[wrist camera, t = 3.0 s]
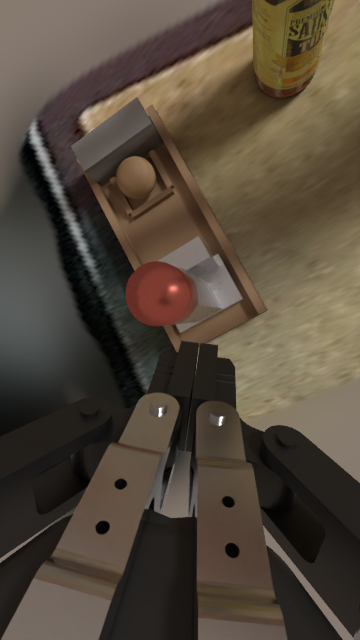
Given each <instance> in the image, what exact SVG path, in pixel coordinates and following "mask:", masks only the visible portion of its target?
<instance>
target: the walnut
mask: <svg viewBox="0 0 360 640" xmlns="http://www.w3.org/2000/svg"><path fill="white" fill-rule="evenodd" d="M116 180H117V184H118V187H119V189H120V190H121V191H122V192H123V194H125V195H126V196H128V197H130V198H133V199H141V198H144V197H146V196H148V195H149V194H150V193H151V192H152V190H153V189H154V186H155V183H156V174H155V171H154V168H153V167H152V165H151V164H150V163H149V162H148V161H147V160H146V159H144V158H142V157H138V156H133V157H129V158H126V159H125V160H124V161H122V162H121V164H120V165H119V167H118V169H117V173H116Z"/></svg>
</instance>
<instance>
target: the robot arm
mask: <svg viewBox="0 0 360 640" xmlns="http://www.w3.org/2000/svg"><path fill="white" fill-rule="evenodd" d="M198 346H199V343H196V342H188V341H181V344H180V348H179V352H172V351H166V352H165V353H164V354H163V355H161V356H160V357H159V360H158V363H157V366H156V369H155V373H154V375H153V378H152V381H151V384H150V387H149V390H148V393H147V395H145V396H143V397H142V398H141V399H140V400H139V401H138V403H137V405H136V406H135V407H132V408H129V409H122V410H112V407H111V406H110V404H109V403H108V402H107V401H105V400H103V399H100V398H85V399H81V400H79V401H77V402H74V403H72V404H70V405H68V406H66V407H64V408H62V409H59V410H57V411H55V412H53V413H51V414H49V415H47V416H44V417H42V418H40V419H38V420H36V421H34V422H32V423H29V424H27V425H25V426H23V427H21V428H18V429H16V430H14V431H12V432H10V433H8V434H6V435H3V436H1V437H0V558H1V557H3V556H4V555H5V554H7V553H8V552H10V551H11V550H13V549H14V548H16V547H17V546H18V545H20V544H21V543H23V542H25V541H26V540H28V539H29V538H30V537H32V536H33V535H35V534H36V533H38V532H39V531H41V530H42V529H44V528H45V527H47V526H48V525H49V524H51V523H52V522H54V521H55V520H57V519H58V518H60V517H61V516H63V515H64V514H66V513H67V512H68V511H70V510H71V509H73V508H74V507H76V506H77V505H78V506H77V508H76V510H75V512H74V514H72V515H70V516H67V517H65V518H63V519H61V520H60V521H58V522H56V523H55V524H53V525H52V526H50V527H49V528H48V529H46V530H45V531H43V532H42V533H41V534H39V535H38V536H36V537H35V538H34V539H32V540H31V541H30V542H28V543H27V544H26V545H24V546H23V547H22V548H20V549H19V550H17V551H16V552H15V553H13V554H12V555H10V556H9V557H8V558H6V559H5V560H4V561H2V562H1V563H0V640H342V638H341V637H340V636H339V634H338V633H337V631H336V630H335V629H334V627H333V626H332V625H331V623H330V622H329V621H328V619H327V618H326V617H325V615H324V614H323V612H322V611H321V610H320V609H319V607H318V606H317V604H316V603H315V602H314V600H313V599H312V598H311V596H310V595H309V594H308V592H307V591H306V590H305V588H304V587H303V585H302V584H301V583H300V581H299V580H298V579H297V577H296V576H295V575H294V573H293V572H292V571H291V570H290V568H289V567H288V566H287V564H286V563H285V562H284V561H283V560H282V559H281V558H280V557H279V555H277V554H276V553H275V552H274V551H273V550H272V549H271V548H269V547H268V546H267V545H266V542H265V535H264V530H263V525H264V526H265V528H266V529H267V530H268V532H269V533H270V534H271V535H272V537H273V538H274V539H275V540H276V542H277V543H278V544H279V545H280V546H281V548H282V549H283V550H284V552H285V553H286V554H287V555H288V557H289V558H290V559H291V560H292V562H293V563H294V564H295V565H296V567H297V568H298V569H299V570H300V572H301V573H302V574H303V575H304V577H305V578H306V579H307V580H308V582H309V583H310V584H311V585H312V587H313V588H314V589H315V590H316V592H317V593H318V594H319V595H320V597H321V598H322V599H323V600H324V602H325V603H326V604H327V605H328V607H329V608H330V609H331V610H332V611H333V613H334V614H335V615H336V616H337V618H338V619H339V620H340V622H341V623H342V624H343V625H344V627H345V628H346V629H347V630H348V632H349V633H350V634H351V635H352V637H353V638H354V640H360V483H359V482H358V481H357V480H355V479H354V478H353V477H352V476H351V475H350V474H348V473H347V472H346V471H345V470H344V469H343V468H341V467H340V466H339V465H338V464H337V463H335V462H334V461H333V460H332V459H331V458H330V457H328V456H327V455H326V454H325V453H324V452H323V451H321V450H320V449H319V448H318V447H317V446H316V445H314V444H313V443H312V442H311V441H310V440H309V439H307V438H306V437H305V436H304V435H303V434H301V433H300V432H299V431H297V430H295V429H293V428H290V427H287V426H281V425H277V426H272V427H269V428H268V429H267V430H265V432H263V431H260V430H258V429H255V428H253V427H251V426H249V425H247V424H246V423H245V422H243V421H242V420H241V418H240V417H239V414H238V412H237V411H236V384H235V366H234V365H233V363H232V362H231V360H230V359H226V358H218V357H217V353H218V345H212V344H204V343H200V349H199V355H198ZM197 355H198V362H197ZM196 364H197V369H196ZM195 373H196V375H195ZM194 381H195V382H194ZM191 402H192V404H191ZM190 409H191V412H190ZM189 415H190V421H189ZM188 422H189V430H188V439H187V448H186V451H189V452H191V461H190V469H189V488H188V517H185V518H169V517H167V516H164V515H162V511H163V507H164V503H165V500H166V496H167V492H168V489H169V485H170V481H171V478H172V474H173V470H174V464H175V462H176V459H177V454H178V450H182V451H184V449H185V442H186V435H187V429H188ZM70 455H71V458H69V459H67V460H65V461H64V462H62V463H60V464H58V465H57V466H55V467H53V468H52V469H50V470H48V471H46V472H45V473H43V474H41V475H39V474H40V473H41V472H42V471H44V470H46V469H48V468H49V467H51V466H53V465H55V464H56V463H58V462H60V461H62V460H63V459H65V458H67V457H69V456H70ZM38 475H39V476H38ZM37 476H38V477H37Z"/></svg>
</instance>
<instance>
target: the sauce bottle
mask: <svg viewBox="0 0 360 640" xmlns="http://www.w3.org/2000/svg"><path fill="white" fill-rule="evenodd" d="M333 3H334V0H252V7H253V65H254V69H255V77H256V81H257V83H258V85H259V87H260V88H261V90H263V92H265V93H266V94H267V95H270V96H272V97H275V98H285V97H289V96H292V95H294V94H296V93H298V92H300V91H301V90H302V89H304V88H305V87H306V85H308V84H309V83H310V81H311V79H312V78H313V75H314V73H315V71H316V69H317V67H318V65H319V62H320V59H321V55H322V51H323V47H324V42H325V38H326V34H327V29H328V25H329V21H330V17H331V13H332V7H333Z"/></svg>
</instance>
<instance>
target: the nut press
mask: <svg viewBox="0 0 360 640" xmlns="http://www.w3.org/2000/svg"><path fill="white" fill-rule="evenodd" d="M146 111H147V113H148V114H149V116H148V115H147V113H146ZM146 111H145V110H144V108H143V106H142V105H141V103H140V101H139V99H138V98H135V99H134V100H133V101H131V102H130V103H129V104H127V105H126V106H125V107H123V108H122V109H120V110H119V111H118V112H116V113H115V114H114V115H112V116H111V117H110V118H108V119H107V120H106V121H104V122H103V123H102V124H100V125H99V126H98V127H96V128H95V129H94V130H92V131H91V132H90V133H88V134H87V135H86V136H84V137H83V138H82V139H80V140H79V141H78V142H76V143H75V144H74V145H72V146H71V147H72V149H73V151H74V153H75V155H76V157H77V161H78V163H79V165H80V167H81V169H82V170H83V172H84V174H85V176H86V178H87V180H88V182H89V184H90V186H91V188H92V190H93V192H94V194H95V196H96V198H97V199H98V201H99V203H100V205H101V207H102V209H103V211H104V213H105V215H106V217H107V219H108V221H109V223H110V225H111V227H112V228H113V230H114V232H115V234H116V236H117V238H118V240H119V242H120V244H121V246H122V248H123V250H124V252H125V254H126V255H127V257H128V259H129V261H130V263H131V265H132V267H133V269H134V271H135V270H136V269H137V268H138V267H140V266H141V265H143V264H145V263H148V262H153V261H158V260H160V259H162V258H163V257H165V256H166V255H168V254H170V253H171V252H173V251H175V250H176V249H178V248H180V247H181V246H183V245H185V244H186V243H188V242H189V241H191V240H193V239H194V238H196V237H198V236H199V237H200V238H201V239H202V240H203V241H204V243H205V244H206V245H207V246H208V247H209V249H210V251H211V253H212V255H213V256H214V255H216V254H219V256H220V257H221V259H222V261H223V263H224V264H225V266H226V268H227V270H228V272H229V274H230V275H231V277H232V279H233V281H234V283H235V284H236V286H237V288H238V290H239V292H240V294H241V295H242V297H243V299H244V300H242V301H240V302H238V303H236V304H234V305H233V306H231V307H229V308H227V309H225V310H223V311H221V312H220V313H218V314H216V315H214V316H212V317H210V318H209V319H207V320H205V321H203V322H201V323H199V324H198V325H196V326H194V327H192V328H190V329H188V330H187V331H185V332H182V333H180V332H179V330H178V328H177V326H176V325H167V326H163V327H164V329H165V331H166V333H167V335H168V337H169V339H170V340H171V342H172V344H173V346H174V348H175V350H176V352H179V348H180V344H181V341H188V342H196V343H199V346H200V343H206V342H208V341H209V340H211V339H213V338H215V337H217V336H219V335H221V334H223V333H225V332H227V331H228V330H230V329H232V328H234V327H236V326H238V325H240V324H242V323H244V322H246V321H247V320H249V319H251V318H253V317H255V316H257V315H259V314H261V313H263V312H264V311H266V310H267V309H266V307H265V305H264V303H263V301H262V300H261V298H260V296H259V294H258V292H257V291H256V289H255V287H254V285H253V283H252V282H251V280H250V278H249V276H248V274H247V273H246V271H245V269H244V267H243V265H242V264H241V262H240V260H239V258H238V256H237V255H236V253H235V251H234V249H233V247H232V246H231V244H230V242H229V240H228V238H227V237H226V235H225V233H224V231H223V229H222V228H221V226H220V224H219V222H218V220H217V219H216V217H215V215H214V213H213V211H212V210H211V208H210V206H209V204H208V202H207V201H206V199H205V197H204V195H203V193H202V192H201V190H200V188H199V186H198V184H197V183H196V181H195V179H194V177H193V175H192V174H191V172H190V170H189V168H188V166H187V165H186V163H185V161H184V159H183V157H182V156H181V154H180V152H179V150H178V148H177V147H176V145H175V143H174V141H173V139H172V138H171V136H170V134H169V132H168V130H167V129H166V127H165V125H164V123H163V121H162V120H161V118H160V116H159V114H158V112H157V111H155V109H154V107H153V105H151V106H149V107H148V108H147V109H146ZM133 156H138V157H142V158H144V159H146V160H147V161H148V162H149V163H150V164H151V165H152V167H153V168H154V171H155V174H156V183H155V186H154V189H153V190H152V192H151V193H150V194H149V195H148V196H146V197H144V198H141V199H133V198H130V197H128V196H126V195H125V194H123V192H122V191H121V190H120V189H119V187H118V184H117V180H116V173H117V169H118V167H119V165H120V164H121V162H122V161H124V160H125V159H126V158H129V157H133Z"/></svg>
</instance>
